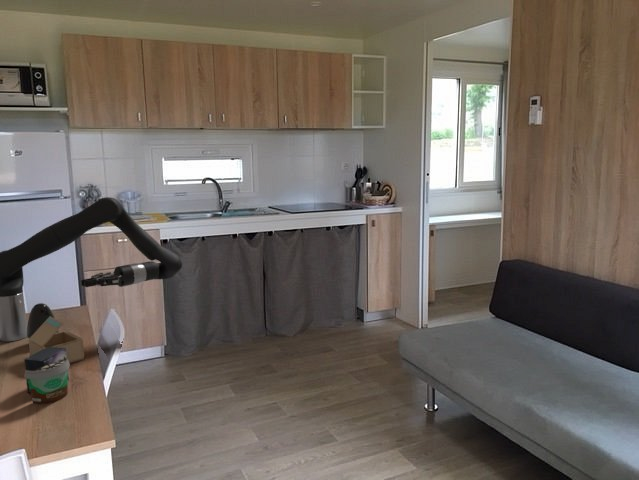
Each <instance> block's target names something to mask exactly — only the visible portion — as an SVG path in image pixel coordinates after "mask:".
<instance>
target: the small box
mask: <svg viewBox="0 0 639 480" xmlns="http://www.w3.org/2000/svg"><path fill="white" fill-rule="evenodd" d="M64 357H66V358H67V355H66V348H60V347H47V348H45V349H43V350H41V351H39V352H37V353H35V354H33V355H31V356H30V355H29V356H27V357H24V360H23V361H24V369H25V370H27V371H34V370H36V369H38V368H40V367H42V366H44V365H47V364H51V363H55V362H58V361H61V360H63V359H64ZM69 376H70V375H69V369H67V380H68V381H69V380H70V377H69ZM25 379H26V387H27V388H26V389H27V393H28V394H31V393H30V388H29V384H28V380H27V378H25Z"/></svg>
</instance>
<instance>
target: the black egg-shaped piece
mask: <svg viewBox="0 0 639 480" xmlns="http://www.w3.org/2000/svg"><path fill="white" fill-rule="evenodd" d="M49 316H51V317H53V318H55V319H56V317H55V315H54V313H53V312H52V310H51V307H49V306H48V305H47V304H45V303H43V302H40V303H39V302H38V303H36V304H35V305H33V307H32V308H31V309H30V313H29V316H28V320H27V337H26V338H28V340H30V339H29V338H30V337H31V336H32V335H33V334H34V333H35V332H36V331H37V330H38V329H39V327H40V326H41V325H42V324H43V323H44V322H45V321H46V320H47V319H48V318H49ZM59 330H60V329H59ZM59 330H58V331H57V332H56V333H58V332H60V331H59Z"/></svg>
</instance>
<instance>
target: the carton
mask: <svg viewBox="0 0 639 480" xmlns="http://www.w3.org/2000/svg"><path fill="white" fill-rule="evenodd" d="M27 341H28V347H29V356H31V355H33V354H35V353H37V352H39V351H41V350H43V349H45V348H47V347H60V348H66V355H67V359H68V361H69V364H70V365H71V364H72V363H76V362H80V361H83V360H85V350H84V339H83V338H82V337H80V336H78V335H76V334H74V333H73V332H70V331H67V330H63V331H62V330H61V331H59V332H58V333H55V334H54V335H53V336H52V337H51V339H50V340H49V341H48V342H47V343H46V344H45V345H44V346H43V347H41V346H40V345H38V344H37V343H35V342H33V341H32V340H29V339H28V340H27Z"/></svg>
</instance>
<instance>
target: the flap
mask: <svg viewBox="0 0 639 480" xmlns="http://www.w3.org/2000/svg"><path fill="white" fill-rule="evenodd" d="M63 325H64V322H62V321H60V320H58V319H56V317H55V318H53V317H51V316H49V318H48V319H47V320H46V321H45V322H44V323H43V324H42V325H41V326H40V327H39V329H38V330H37V331H36V332H35V333H34V334H33V335H32V336H31V337H30V338H28V340H29V339H30V340H32V341H33V342H35V343H37V344H38V345H40V346H41V347H43V346H44V345H45V344H46V343H47V342H48V341H49V340H50V339H51V337H52V336H53V335H54V334H55V333H56V332H57V331H58V330H60V329H61V328H62V326H63Z"/></svg>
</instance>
